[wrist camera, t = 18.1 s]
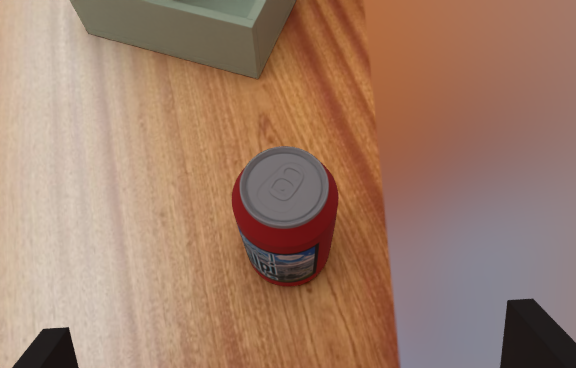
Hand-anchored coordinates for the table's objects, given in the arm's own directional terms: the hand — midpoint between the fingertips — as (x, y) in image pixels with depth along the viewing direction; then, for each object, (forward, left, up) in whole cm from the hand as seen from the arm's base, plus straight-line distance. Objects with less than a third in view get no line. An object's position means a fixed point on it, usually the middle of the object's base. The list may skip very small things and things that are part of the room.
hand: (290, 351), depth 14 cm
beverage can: (+1, -10, -22) cm, 24 cm away
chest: (+13, -38, -22) cm, 46 cm away
